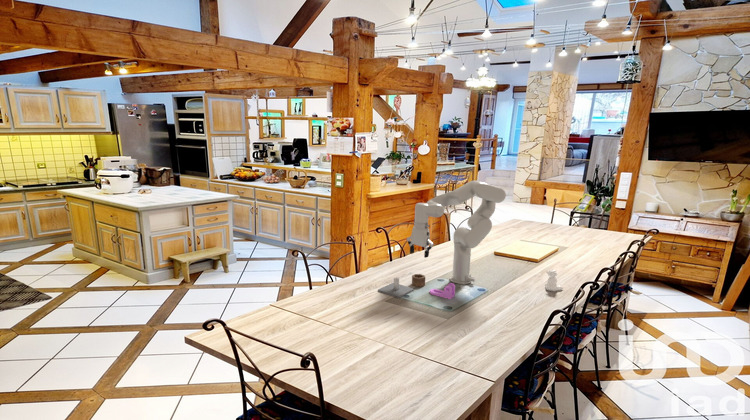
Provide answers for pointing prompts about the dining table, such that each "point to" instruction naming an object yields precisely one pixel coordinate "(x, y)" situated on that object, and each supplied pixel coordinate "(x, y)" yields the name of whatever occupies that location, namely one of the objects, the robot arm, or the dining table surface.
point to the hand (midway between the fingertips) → (419, 255)
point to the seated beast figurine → (552, 281)
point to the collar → (418, 280)
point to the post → (396, 289)
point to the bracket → (445, 291)
